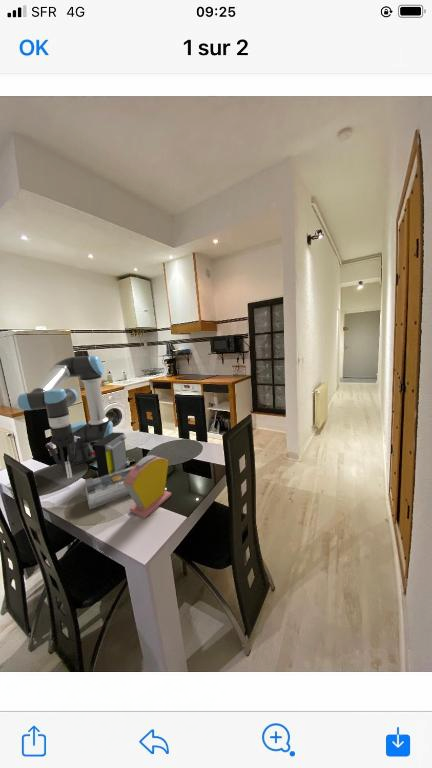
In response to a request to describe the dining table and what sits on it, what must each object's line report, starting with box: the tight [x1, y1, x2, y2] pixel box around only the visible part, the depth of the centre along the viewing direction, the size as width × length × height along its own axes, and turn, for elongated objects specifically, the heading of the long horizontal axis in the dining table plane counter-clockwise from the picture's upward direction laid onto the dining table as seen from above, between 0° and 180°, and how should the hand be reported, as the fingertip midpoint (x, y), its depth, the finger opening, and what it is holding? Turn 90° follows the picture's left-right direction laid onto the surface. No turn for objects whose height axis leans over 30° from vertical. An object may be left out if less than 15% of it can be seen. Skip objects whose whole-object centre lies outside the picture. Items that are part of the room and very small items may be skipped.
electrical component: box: [91, 432, 130, 477], centre depth 137 cm, size 18×10×20 cm, turn 168°
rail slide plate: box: [84, 465, 135, 510], centre depth 120 cm, size 14×26×7 cm, turn 123°
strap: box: [102, 475, 127, 487], centre depth 121 cm, size 6×16×2 cm, turn 123°
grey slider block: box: [84, 477, 101, 492], centre depth 115 cm, size 7×6×5 cm
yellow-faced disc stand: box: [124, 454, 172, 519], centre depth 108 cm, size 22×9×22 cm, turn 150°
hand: (69, 476), depth 109 cm, fingers closed
